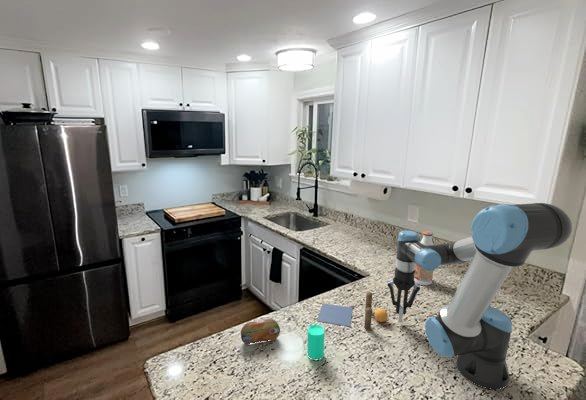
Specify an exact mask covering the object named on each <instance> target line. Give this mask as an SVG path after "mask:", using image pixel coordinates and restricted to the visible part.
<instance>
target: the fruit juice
mask: <svg viewBox="0 0 586 400" xmlns="http://www.w3.org/2000/svg"><path fill="white" fill-rule="evenodd" d="M433 237H434V233H433V232H431V231H427V230H426V231H423V232H422V239H421V241H419V242H420V243H422V244H424V245H435V244H434V242H433ZM433 276H434V271H427V270H425V269H423V268H421V267H419V266H418V265H417V264H416V266H415V276H414V281H415V284H417V285H419V286H420V285H421V286H430V285H432V282H433V279H434V278H433Z"/></svg>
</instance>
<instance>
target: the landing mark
mask: <svg viewBox="0 0 586 400" xmlns="http://www.w3.org/2000/svg"><path fill="white" fill-rule="evenodd" d="M352 315H353V307H350V306H342V305H336V304H329V303H322V304H321V307H320V311H319V313H318V316H317V321H316V322H319V321H320V323H325V322H326V324H331V323H333V325H337V324H338V325H337V326H343V325H345V326H344V327H349V326H350V327H351V324H352Z"/></svg>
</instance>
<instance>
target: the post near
mask: <svg viewBox="0 0 586 400" xmlns="http://www.w3.org/2000/svg"><path fill="white" fill-rule="evenodd" d="M364 310H365V309H364ZM364 312H365V313H364V326H363V327H364V328H365V329H366V331H371V330H370V329H372V318H373V317H372V316H373V308H372V307H371V308H370V307H366V310H365V311H364ZM364 328H363V329H364ZM365 329H364V330H365Z"/></svg>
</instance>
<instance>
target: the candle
mask: <svg viewBox="0 0 586 400" xmlns="http://www.w3.org/2000/svg"><path fill="white" fill-rule="evenodd" d="M325 332H326V331H325V328H324V327H323V326H322V325H321V324H312V325H310V326H308V329H307V345H306V346H307V347H306V348H307V350H306V354H307V353H308V355H307V357H308V356H309V357H310V358H312V359H320V358H322V357H323V358H324V356H323V355H325V353H324V352H325ZM323 358H322V359H323Z"/></svg>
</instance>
